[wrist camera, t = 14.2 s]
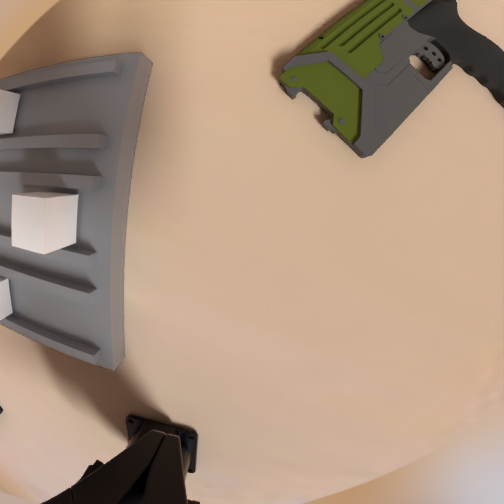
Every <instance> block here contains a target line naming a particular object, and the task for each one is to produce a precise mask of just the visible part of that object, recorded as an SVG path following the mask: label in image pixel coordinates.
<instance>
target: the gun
mask: <svg viewBox="0 0 504 504" xmlns="http://www.w3.org/2000/svg"><path fill="white" fill-rule="evenodd" d="M424 49H425V50H424ZM412 54H414V55H416V56H417V57H419V56H420V57H422V59H423V60H425V61H426V63H427V64H429V67H430V68H431V69H432V71H436V70H438V69H439V68H440V67H441V68H440V69H439V71H438V72H437V73H436V74H435V75H434V76H433V77H432V78H431V79H430V80H428V79H425V78H424V77H423V76H422V75H421V74H420V73H419V72H418V71H417V70H416V69H415V68H414V67H413V66H412V65H411V64H410V60H409V57H410V56H411V55H412ZM443 64H444V65H443ZM453 64H457V65H459V66H460V67H461V68H462V69H464V70H465V72H466V73H467V74H469V75H471V76H473V77H475V78H476V79H477V80H478V81H479V82H480V83H481V84H482V85H483V86H485V87H487V88H488V89H489V90H490V91H491V92H492V93H493V95H494V97H495V98H496V100H497V101H498V103H500V104H501V105H502V106H503V107H504V51H503V50H502V49H501V48H500V47H499V46H498V45H496V44H495V43H494V42H492V41H491V40H489V39H488V38H487V37H485V36H483V35H482V34H480V33H478V32H476V31H475V30H473V29H472V28H470V27H469V26H468V25H466V24H465V23H464V22H463V21H462V20H461V18H460V17H459V15H458V11H457V2H456V0H365V1H364V2H362V3H361V4H360V5H358V6H357V7H356V8H354V9H353V10H352V11H350V12H349V13H347V14H346V15H345V16H344V17H342V18H341V19H340V20H338V21H337V22H336V23H334V24H333V25H332V26H331V27H329V28H328V29H327V30H326V31H324V32H323V33H322V34H321V35H320V36H318V37H317V38H316V39H315V40H313V41H312V42H311V43H310V44H309V45H308V46H306V47H305V48H304V49H303V50H302V51H301V52H299V53H298V54H297V55H296V56H295V57H294V58H292V59H291V60H290V61H289V62H288V63H287V64H286V65H285V66H283V74H282V75H281V76H280V83H281V85H282V86H283V87H284V88H285V91H286V92H287V95H288V96H289V97H290V98H291V99H294V98H295V97H296V95H297V93H298V92H300V91H301V92H303V93H304V94H306V95H307V96H308V97H310V98H311V100H313V101H314V102H316V103H317V104H318V105H319V106H320V107H321V109H322V110H324V111H325V112H326V113H327V114H328V115H329V116H330V119H329V120H325V121H324V122H323V123H322V127H323V128H325V129H326V130H327V131H331V132H332V133H336V134H337V135H338V136H339V137H340V138H341V139H342V140H343V141H344V142H345V143H346V144H348V145H349V147H350V148H351V149H352V150H353V151H354V152H355V153H356V154H357V155H358V156H359V157H361V158H365V157H368V156H371V155H373V154H374V153H375V151H376V150H377V149H378V148H379V147H380V146H381V145H382V144H383V143H384V142H385V141H386V140H387V139H388V138H389V137H390V136H391V135H392V134H393V132H394V131H395V130H396V129H397V128H398V127H399V126H400V125H401V124H402V122H403V121H404V120H405V119H406V118H407V117H408V116H409V115H410V114H411V113H412V112H413V111H414V110H415V108H416V107H417V106H418V105H419V104H420V103H421V102H422V101H423V100H424V99H425V98H426V96H427V95H428V94H429V93H430V92H431V91H432V90H433V89H434V88H435V87H436V86H437V85H438V83H439V82H440V81H441V80H442V79H443V78H444V77H445V76H446V74H447V73H448V72H449V71H450V70H451V69H452V65H453ZM389 70H390V71H389ZM388 71H389V72H388ZM387 72H388V73H387Z"/></svg>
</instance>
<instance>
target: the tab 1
mask: <svg viewBox="0 0 504 504" xmlns="http://www.w3.org/2000/svg"><path fill="white" fill-rule="evenodd" d="M20 95H21V94H17V93H13V92H9V91H5V90H1V89H0V135H4V134H13V128H14V123H15V118H16V113H17V108H18V103H19V99H20Z"/></svg>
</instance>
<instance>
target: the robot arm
mask: <svg viewBox="0 0 504 504" xmlns="http://www.w3.org/2000/svg"><path fill="white" fill-rule="evenodd" d="M126 424H127V430H128V437H129V443H128V445H127V447H126V449H125V450H124V451H123V452H121V453H120V454H118V455H117V456H116V457H114V458H113V459H111V460H110V461H108V462H107V463H106V464H103V462H101V461H99V460H96V462H95V463H94V464H93V465H89V466H88V468H87V469H86V471H85V473H84V474H83V476H82V477H81V479H80V480H79V481H78V482H77V483H76V484H74V485H73V486H71V488H68V489H66V490H65V491H63V492H62V493H60V494H58V495H57V496H55V497H53V498H51V499H49V500H48V501H45V502H43V503H41V504H200V502H198V501H194V500H193V501H191V500H188V499H187V495H186V488H185V478H186V474H187V472H189V473H194V472H195V470H196V459H197V445H198V434H197V433H196V432H194V431H190V430H185V429H181V428H177V427H173V426H169V425H165V424H161V423H158V422H154V421H151V420H147V419H144V418H141V417H137V416H134V415H128V416H127V417H126ZM192 436H193V437H192Z"/></svg>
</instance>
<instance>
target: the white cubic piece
mask: <svg viewBox="0 0 504 504" xmlns="http://www.w3.org/2000/svg"><path fill="white" fill-rule="evenodd" d="M12 313H13V311H12V304H11V297H10V289H9V280H8V278H6V277H3V276H1V275H0V320H2V319H3V318H5V317H7V316H8V315H10V314H12Z"/></svg>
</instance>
